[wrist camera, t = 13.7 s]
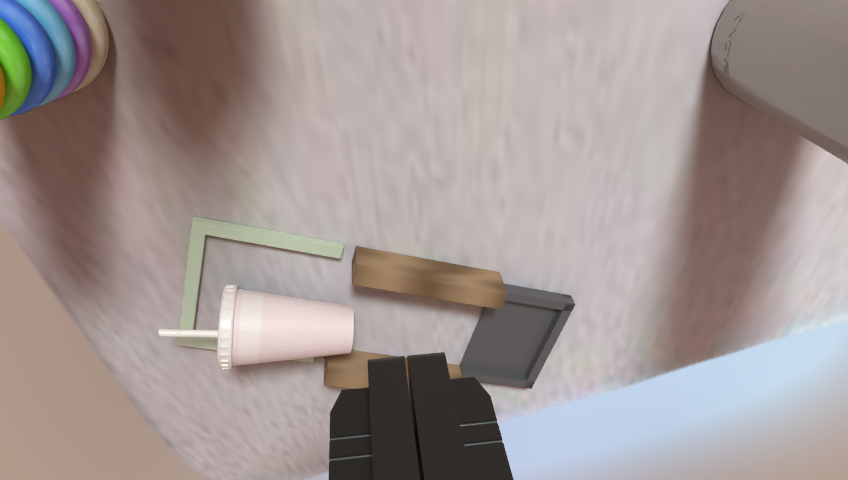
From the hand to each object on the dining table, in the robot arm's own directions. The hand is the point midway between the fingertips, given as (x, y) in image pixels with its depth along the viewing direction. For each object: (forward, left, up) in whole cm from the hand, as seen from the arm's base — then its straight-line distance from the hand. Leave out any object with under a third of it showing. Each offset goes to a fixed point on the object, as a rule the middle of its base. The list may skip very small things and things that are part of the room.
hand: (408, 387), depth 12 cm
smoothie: (+3, +22, -28) cm, 36 cm away
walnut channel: (-2, +24, -31) cm, 39 cm away
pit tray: (-11, +27, -31) cm, 42 cm away
